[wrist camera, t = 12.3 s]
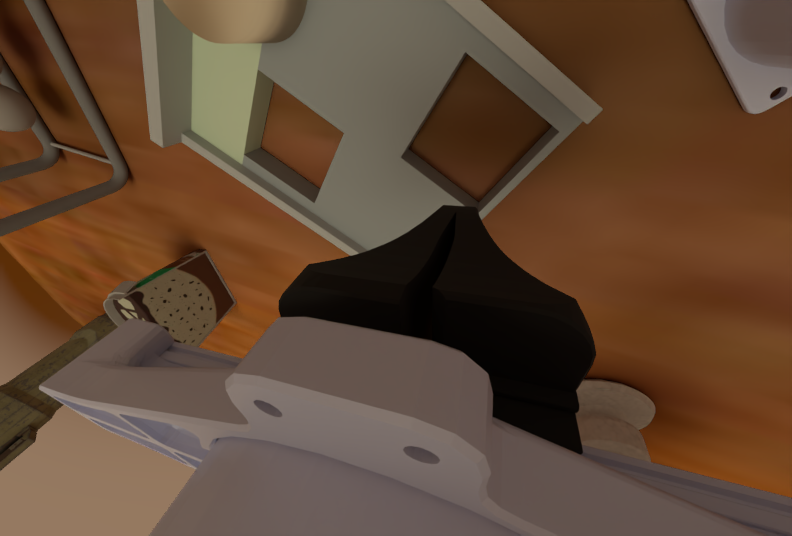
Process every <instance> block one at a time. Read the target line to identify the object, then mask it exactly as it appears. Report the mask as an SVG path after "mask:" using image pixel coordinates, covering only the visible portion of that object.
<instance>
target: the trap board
mask: <svg viewBox="0 0 792 536" xmlns="http://www.w3.org/2000/svg"><path fill="white" fill-rule="evenodd" d="M137 8H138V18H139V28H140V38H141V49H142V59H143V69H144V79H145V89H146V100H147V110H148V120H149V130H150V140H152V141H153V142H155V143H156V144H158V145H159V146H161V147H163V148H164V147H167V146H171V145H174V144H177V143H180V142H182V143H184V144H185V145H187V146H188V147H190V148H191V149H193V150H194V151H196V152H197V153H199V154H200V155H202V156H203V157H205V158H206V159H208V160H209V161H211V162H212V163H214V164H215V165H216V166H218V167H219V168H221V169H222V170H224V171H225V172H227V173H228V174H230V175H231V176H233V177H234V178H236V179H237V180H239V181H240V182H242V183H243V184H245V185H246V186H248V187H249V188H251V189H252V190H254V191H255V192H257V193H258V194H260V195H261V196H263V197H264V198H266V199H267V200H269V201H270V202H272V203H273V204H274V205H276V206H277V207H279V208H280V209H282V210H283V211H285V212H286V213H288V214H289V215H291V216H292V217H294V218H295V219H297V220H298V221H300V222H301V223H303V224H304V225H306V226H307V227H309V228H310V229H312V230H313V231H315V232H316V233H318V234H319V235H321V236H322V237H324V238H325V239H327V240H328V241H330V242H331V243H332V244H334V245H335V246H337V247H338V248H340V249H341V250H343V251H344V252H346V253H347V254H349V255H350V256H352V255H356V254H359V253H362V252H365V251H368V250H371V249H373V248H376V247H378V246H381V245H384V244H386V243H388V242H390V241H392V240H394V239H396V238H398V237H400V236H402V235H403V234H405V233H407V232H408V231H410V230H411V229H413V228H414V227H416V226H417V225H419V224H420V223H422V222H423V221H424V220H425V219H427V218H428V217H429V216H430V215H432V214H433V213H434V212H435V211H437V210H438V209H439V208H440V207H441V206H443V205H452V206H470V207H476V208H477V209H478V213H479V216H480V218H481V220H482V219H483V218H484V217H485V216H486V215H487V214H488V213H489V212H490V211H491V210H492V209H493V208H494V207H495V206H496V205H497V204H498V203H499V202H500V201H501V200H502V199H504V198H505V197H506V196H507V195H508V194H509V193H510V192H511V191H512V190H513V189H514V188H515V187H516V186H517V185H518V184H519V183H520V182H521V181H522V180H523V179H524V178H525V177H526V176H527V175H528V174H529V173H530V172H531V171H532V170H533V169H534V168H535V167H536V166H537V165H538V164H540V163H541V162H542V161H543V160H544V159H545V158H546V157H547V156H548V155H549V154H550V153H551V152H552V151H553V150H554V149H555V148H556V147H557V146H558V145H559V144H560V143H561V142H562V141H563V140H564V139H565V138H566V137H567V136H568V135H569V134H570V133H571V132H572V131H573V130H574V129H576V128H577V127H578V126H579V125H580V124H581V123H582V122H583V121H584V122H585V123H586V124H588V123H590V122H591V121H592V120H593V119H594V118H595V117H596V116H597V115H598V114H599V113H600V112H601V111H602V110H603V109H602V108H601V107H600V106H599V105H598V104H597V103H596V102H594V101H593V100H592V99H591V98H590V97H589V96H588V95H587V94H585V93H584V92H583V91H582V90H581V89H580V88H579V87H578V86H576V85H575V84H574V83H573V82H572V81H571V80H570V79H569V78H567V77H566V76H565V75H564V74H563V73H562V72H561V71H560V70H558V69H557V68H556V67H555V66H554V65H553V64H552V63H551V62H550V61H548V60H547V59H546V58H545V57H544V56H543V55H542V54H541V53H539V52H538V51H537V50H536V49H535V48H534V47H533V46H532V45H530V44H529V43H528V42H527V41H526V40H525V39H524V38H523V37H521V36H520V35H519V34H518V33H517V32H516V31H515V30H514V29H512V28H511V27H510V26H509V25H508V24H507V23H506V22H505V21H503V20H502V19H501V18H500V17H499V16H498V15H497V14H496V13H494V12H493V11H492V10H491V9H490V8H489V7H488V6H487V5H485V4H484V3H483V2H482V1H481V0H307V5H306V9H305V13H304V16H303V19H302V21H301V23H300V25H299V27H298V28H297V30H296V31H295V33H294V34H293V35H291V36H290V37H289V38H288V39H286V40H284V41H282V42H278V43H240V44H220V43H213V42H209V41H207V40H205V39H202V38H201V37H199V36H197V35H196V34H194V33H193V32H191V31H190V30H189V29H188V28H186V27H185V26H184V25H183V24H182V23H181V22H180V21H179V20H178V19H177V18H176V17H175V16H174V15H173V13H172V12H171V11H170V10H169V8H168V7H167V6H166V4H165V3H164V2H163V0H137ZM467 54H468V55H470V56H471V57H472V58H473V59H474V60H475V61H477V62H478V63H479V64H480V65H481V66H483V67H484V68H485V69H486V70H487V71H488V72H490V73H491V74H492V75H493V76H494V77H495V78H497V79H498V80H499V81H500V82H501V83H503V84H504V85H505V86H506V87H507V88H508V89H510V90H511V91H512V92H513V93H514V94H516V95H517V96H518V97H519V98H520V99H521V100H523V101H524V102H525V103H526V104H527V105H528V106H530V107H531V108H532V109H533V110H534V111H536V112H537V113H538V114H539V115H540V116H541V117H543V118H544V119H545V120H546V121H547V122H548V123H550V124H551V125H552V127H551V128H550V129H549V130H548V131H547V132H546V133H545V134H544V135H543V136H542V137H541V138H540V139H539V140H538V141H537V142H536V143H535V144H534V146H533V147H532V148H531V149H530V150H529V151H528V152H527V153H526V154H525V155H524V156H523V157H522V158H521V159H520V160H519V161H518V162H517V163H516V164H515V165H514V166H513V167H512V168H511V169H510V171H509V172H508V173H507V174H506V175H505V176H504V177H503V178H502V179H501V180H500V181H499V182H498V183H497V184H496V185H495V186H494V187H493V188H492V189H491V190H490V191H489V192H488V193H487V194H486V195H485V197H484V198H483V199H482V200H481V201H480V202H477V201H476V200H475V199H473V198H472V197H471V196H470V195H468V194H467V193H466V192H464V191H463V190H462V189H460V188H459V187H458V186H456V185H455V184H454V183H452V182H451V181H450V180H449V179H447V178H446V177H445V176H443V175H442V174H441V173H439V172H438V171H437V170H435V169H434V168H433V167H431V166H430V165H429V164H427V163H426V162H425V161H424V160H422V159H421V158H420V157H418V156H417V155H416V154H414V153H413V152H412V151H410V150H409V147H410V145H411V144H412V142H413V141H414V139H415V137H416V136H417V134H418V132H419V131H420V129H421V128H422V126H423V124H424V123H425V121H426V120H427V118H428V116H429V115H430V113H431V111H432V110H433V108H434V107H435V105H436V103H437V102H438V100H439V99H440V97H441V95H442V94H443V92H444V90H445V89H446V87H447V86H448V84H449V82H450V81H451V79H452V78H453V76H454V74H455V73H456V71H457V70H458V68H459V66H460V65H461V63H462V61H463V60H464V58H465V57H466V55H467ZM274 82H276V83H277V84H278V85H280V86H281V87H282V88H284V89H285V90H286V91H288V92H289V93H290V94H292V95H293V96H295V97H296V98H297V99H299V100H300V101H301V102H303V103H304V104H305V105H307V106H308V107H309V108H311V109H312V110H313V111H315V112H316V113H317V114H319V115H320V116H321V117H323V118H324V119H326V120H327V121H328V122H330V123H331V124H332V125H334V126H335V127H336V128H338V129H339V130H340V131H342V132H343V133H344V135H343V137H342V139H341V142H340V144H339V146H338V149H337V151H336V153H335V156H334V158H333V161H332V163H331V165H330V168H329V170H328V172H327V175H326V177H325V180H324V182H323V184H322V187H321V189H319V188H318V187H316V186H315V185H313V184H312V183H310V182H309V181H308V180H306V179H305V178H303V177H302V176H300V175H299V174H298V173H296V172H295V171H293V170H292V169H290V168H289V167H288V166H286V165H285V164H283V163H282V162H280V161H279V160H278V159H276V158H275V157H273V156H272V155H270V154H269V153H268V152H266V151H265V150H263V149H262V148H260V147H261V142H262V137H263V132H264V127H265V123H266V118H267V113H268V108H269V103H270V98H271V93H272V88H273V84H274Z"/></svg>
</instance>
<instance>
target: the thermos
mask: <svg viewBox="0 0 792 536" xmlns="http://www.w3.org/2000/svg"><path fill="white" fill-rule="evenodd" d="M116 328H118V326H117V325H116V324H115V323H114V322H113V321H112V319H111V318H110V317H109V316H108V314H107V313H105V314H104V315H102V316H98V317H97V318H95V319H94V320H93V321H91V322H90V323H88V324H87V325H85V326H84V327H82V328H81V329H79V330H78V331H76V332H75V333H74V335H73V336H72V337H71V338H70V340H69V341H68V342H66V343H65V344H63V345H62V346H60V347H59V348H57V349H56V350H54V351H53V352H51V353H50V354H49V355H47V356H46V357H44V358H43V359H41V360H40V361H39V362H37V363H35V364H34V365H33V366H31V367H30V368H28V369H27V370H25V371H24V372H22V373H21V374H19V375H18V376H17V377H15V378H14V379H12V380H11V381H9V382H8V383H6V384H4V385H1V386H0V470H2V469H3V468H4V467H5V466H6V465H8V464H9V463H10V462H11V461H12V460H13V459H15V458H16V457H17V456H18V455H19V454H21V453H22V452H23V451H24V450H25V449H27V448H28V447H29V446H30V445H31V444H33V443H34V442H35V440H36V434H37V433H36V432H37V431H38V429H40V428H41V427H42V426H43V425H44V424H45V423H47V422H48V421H49V420H50V419H51V418H52V416H53V415H54V414H55V412H56V410H58V409H59V408H60V407H61V406H63V405H64V404H62V403H61V402H59V401H57V400H56V399H54V398H53V397H51V396H49V395H48V394H46V393H44V392H43V391H41V390H39V385H41V384H42V383H43V382H45V381H46V380H47V379H49V378H50V377H51V376H53V375H54V374H55V373H57V372H58V371H60V370H61V369H62V368H64V367H65V366H66V365H68V364H69V363H70V362H72V361H73V360H74V359H76V358H77V357H78V356H80V355H81V354H82V353H84V352H85V351H87V350H88V349H89V348H91V347H92V346H93V345H95V344H96V343H97V342H99V341H100V340H101V339H103V338H104V337H105V336H107V335H108V334H110V333H111V332H112V331H114V330H115V329H116Z"/></svg>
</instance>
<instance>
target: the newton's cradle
mask: <svg viewBox="0 0 792 536" xmlns="http://www.w3.org/2000/svg"><path fill="white" fill-rule="evenodd" d="M24 2H25V4H26V6H27V8H28V10H29V12H30V13H31V15H32V17H33V19H34V21H35V23H36V25H37V26H38V28H39V30H40V32H41V34H42V36H43V38H44V39H45V41H46V43H47V45H48V47H49V49H50V51H51V52H52V54H53V56H54V58H55V60H56V62H57V64H58V65H59V67H60V69H61V71H62V73H63V75H64V77H65V78H66V80H67V82H68V84H69V86H70V88H71V90H72V91H73V93H74V95H75V97H76V99H77V101H78V103H79V104H80V106H81V108H82V110H83V112H84V114H85V116H86V118H87V119H88V121H89V123H90V125H91V127H92V129H93V131H94V132H95V134H96V136H97V138H98V140H99V142H100V144H101V145H102V147H103V149H104V151H105V153H106V155H107V157H108V158H109V159H106V158H102V157H99V156H96V155H93V154H89V153H86V152H83V151H80V150H76V149H73V148H70V147H67V146H64V145H60V144H57V143H56V141H55V139H54V138H53V136H52V135H51V133H50V132H49V130H48V128H47V127H46V125H45V124H44V122H43V121H42V119H41V117H40V116H39V114H38V113H37V111H36V110H35V108H34V106H33V105H32V103H31V102H30V100H29V99H28V97H27V95H26V94H25V92H24V91H23V89H22V88H21V86H20V84H19V83H18V81H17V80H16V78H15V77H14V75H13V74H12V72H11V70H10V69H9V67H8V66H7V64H6V63H5V61H4V59H3V58H2V56H1V55H0V83H1V84H0V130H3V131H8V132H17V131H24V130H27V129H29V128H30V127H31V129H32V130H33V132H34V133H35V135H36V136H37V138H38V139H39V141H40V142H41V143H42V146H43V149H44V152H43V154H42V155H41V156H40V157H39V158H37V159H34V160H30V161H26V162H22V163H18V164H14V165H10V166H6V167H2V168H0V182H2V181H6V180H9V179H13V178H16V177H20V176H23V175H27V174H31V173H34V172H38V171H41V170H45V169H47V168H49V167H52V166H53V165H54V164H55V163H56V162H57V161H58V158H59V156H60V152H59V148H61V149H64V150H67V151H71V152H74V153H77V154H80V155H83V156H87V157H90V158H93V159H96V160H100V161H103V162H106V163H109V164H112V166H113V169H114V174H113V176H112V178H111V179H110V180H109V181H107V182H105V183H102V184H99V185H96V186H93V187H90V188H88V189H85V190H82V191H79V192H76V193H73V194H71V195H68V196H65V197H62V198H59V199H56V200H54V201H51V202H48V203H45V204H42V205H39V206H37V207H34V208H31V209H28V210H25V211H22V212H20V213H17V214H14V215H11V216H8V217H5V218H3V219H0V236H3V235H6V234H8V233H11V232H13V231H16V230H19V229H21V228H24V227H26V226H29V225H31V224H34V223H37V222H39V221H42V220H44V219H47V218H50V217H52V216H55V215H57V214H60V213H62V212H65V211H68V210H70V209H73V208H75V207H78V206H80V205H83V204H86V203H88V202H91V201H93V200H96V199H99V198H101V197H104V196H106V195H109V194H111V193H114V192H116V191H118V190H120V189H121V188H122V187H123V186H124V185H125V184H126V182H127V179H128V168H127V165H126V162H125V160H124V158H123V156H122V154H121V153H120V151H119V149H118V147H117V145H116V143H115V141H114V139H113V137H112V135H111V133H110V131H109V129H108V127H107V125H106V123H105V121H104V119H103V117H102V115H101V113H100V111H99V109H98V107H97V105H96V103H95V101H94V99H93V97H92V95H91V93H90V91H89V89H88V87H87V85H86V83H85V81H84V79H83V77H82V75H81V73H80V71H79V69H78V67H77V65H76V63H75V61H74V59H73V57H72V55H71V53H70V51H69V49H68V47H67V45H66V43H65V41H64V39H63V37H62V35H61V33H60V31H59V29H58V27H57V25H56V23H55V21H54V19H53V17H52V15H51V13H50V11H49V9H48V7H47V5H46V3H45V1H44V0H24Z"/></svg>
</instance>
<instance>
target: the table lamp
mask: <svg viewBox="0 0 792 536" xmlns="http://www.w3.org/2000/svg"><path fill="white" fill-rule="evenodd" d="M576 392H577V396H578V401H579V405H580V406H579V411H578V412H577V413H575V414H576V419H577V423H578V428H579V433H580V438H581V443H582V445H585V446H589V447H593V448H597V449H601V450H605V451H609V452H613V453H617V454H621V455H625V456H628V457H632V458H636V459H640V460H644V461H648V462H651V459H650V456H649V453H648V450H647V447H646V444H645V441H644V438H643V436H642V434H641V433H640V431H639V430H640V429H642V428H644V427H646V426H647V425H648V424H649V423H651V421H652V419H653V417H654V415H655V406H654V403H653V402H652V401H651V400H650V399H649V398H648V397H647V396H646V395H644V394H643V393H641V392H639V391H637V390H635V389H633V388H631V387H628V386H626V385H624V384H622V383H617V382H612V381H607V380H602V379H583V381H582V382H581V384H580V386H579V387H578V389H577V390H576Z"/></svg>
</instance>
